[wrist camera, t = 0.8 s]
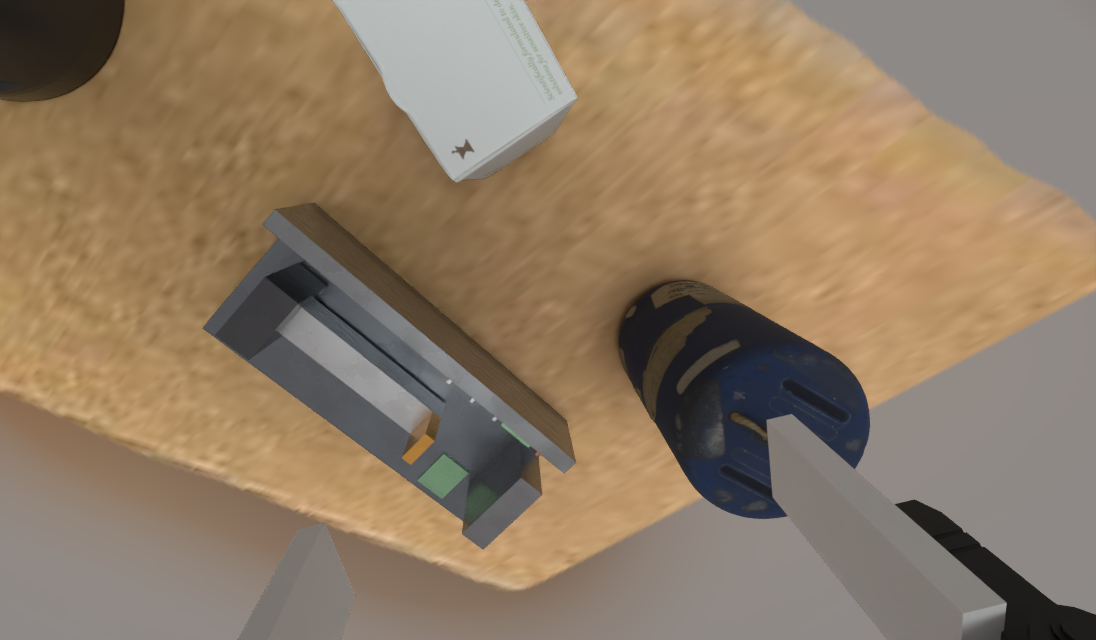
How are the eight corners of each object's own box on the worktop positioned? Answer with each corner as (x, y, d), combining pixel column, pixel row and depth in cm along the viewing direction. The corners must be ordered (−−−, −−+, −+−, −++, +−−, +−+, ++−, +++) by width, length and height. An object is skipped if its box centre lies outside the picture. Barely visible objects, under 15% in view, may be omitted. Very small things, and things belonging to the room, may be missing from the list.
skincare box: (556, 133, 35) (590, 105, 20) (477, 184, 36) (453, 194, 21) (489, 16, 33) (472, -113, 18) (405, 73, 33) (322, -6, 19)
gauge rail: (211, 323, 37) (143, 357, 30) (314, 203, 35) (266, 210, 28) (468, 514, 43) (460, 579, 36) (566, 420, 41) (578, 470, 35)
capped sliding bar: (254, 313, 36) (209, 338, 30) (298, 262, 35) (260, 278, 30) (413, 435, 39) (398, 477, 34) (456, 392, 38) (448, 427, 33)
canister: (667, 412, 42) (776, 580, 25) (588, 337, 40) (649, 465, 22) (756, 333, 40) (937, 452, 23) (680, 249, 38) (819, 314, 21)
